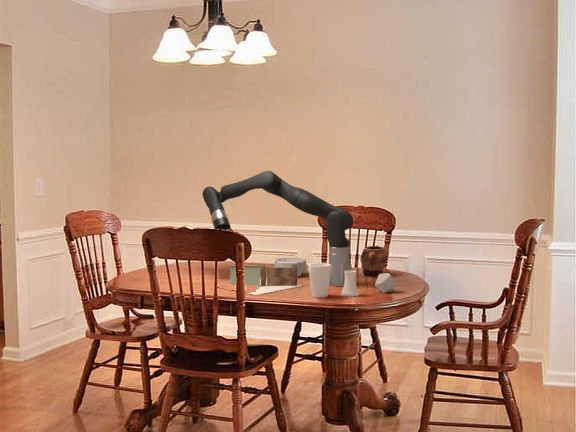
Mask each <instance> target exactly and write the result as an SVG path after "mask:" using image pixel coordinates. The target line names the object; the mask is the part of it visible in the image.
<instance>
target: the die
mask: <svg viewBox="0 0 576 432" xmlns="http://www.w3.org/2000/svg"><path fill="white" fill-rule="evenodd" d="M397 282H398V280H397V279H395V277H393V276H392V275H391V274H390V273H388V272H386V273H385V272H383V274H379V276H378V277H377V279H376V281H375V284H374V287H376V288H377V289H379V291H380V292H382V293H383V294H388V293H393V291H394V290H395V287H396V284H397Z"/></svg>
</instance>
